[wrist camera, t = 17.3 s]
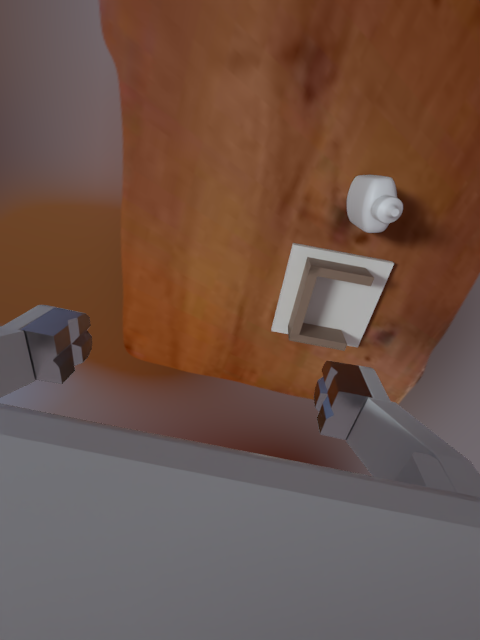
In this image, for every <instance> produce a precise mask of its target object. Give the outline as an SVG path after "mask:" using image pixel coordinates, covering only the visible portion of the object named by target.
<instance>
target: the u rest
mask: <svg viewBox="0 0 480 640" xmlns="http://www.w3.org/2000/svg"><path fill="white" fill-rule="evenodd" d="M393 265H394V263H393V262H392V261H387V260H381V259H376V258H371V257H365V256H360V255H355V254H349V253H344V252H339V251H333V250H328V249H323V248H317V247H312V246H307V245H301V244H296V243H293V245H292V249H291V253H290V257H289V261H288V265H287V269H286V273H285V277H284V281H283V285H282V289H281V293H280V297H279V301H278V305H277V309H276V313H275V316H274V320H273V324H272V331H275V332H280V333H285V334H288V335H289V340H291V341H296V342H301V343H306V344H312V345H317V346H322V347H327V348H333V349H338V350H343V351H345V348H346V346H347V345H348V346H353V347H358V346H359V343H360V341H361V339H362V336H363V334H364V332H365V330H366V327H367V325H368V323H369V320H370V318H371V316H372V314H373V311H374V309H375V307H376V304H377V302H378V300H379V297H380V295H381V293H382V291H383V288H384V286H385V284H386V281H387V279H388V277H389V275H390V272H391V270H392V268H393Z"/></svg>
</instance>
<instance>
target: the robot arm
mask: <svg viewBox="0 0 480 640" xmlns="http://www.w3.org/2000/svg"><path fill="white" fill-rule="evenodd" d="M90 326H91V324H90V317H89V316H88V315H87V314H85V313H81V312H76V311H71V310H66V309H62V308H57V307H52V306H47V305H38V306H36V307H35V308H33V309H31V310H29V311H28V312H26V313H24V314H23V315H21V316H19V317H18V318H16V319H14V320H12V321H11V322H9V323H7V324H6V325H4V326H2V327H1V326H0V398H1V397H3V396H5V395H7V394H9V393H11V392H13V391H15V390H17V389H19V388H21V387H23V386H26V385H28V384H30V383H32V382H34V381H35V380H41V381H47V382H53V383H59V384H63V382H65V381H66V380H67V379H68V378H69V376H70V375H71V374H72V373H73V372H74V371H75V367H74V366H75V365H78V364H80V363H83V362H84V361H85V360H86V359H87V358H88V356H89V354H90V351H91V349H92V336H91V335H90V334H89V332H88V331H87V329H88V328H89V327H90ZM322 373H323V377H322V378H321V379H319V380H318V381H317V384H316V387H315V393H314V404H315V408H316V409H317V410H318V411H319V414H318V416H317V421H318V427H319V432H320V434H321V435H326V436H330V437H335V438H339V439H343V440H346V441H347V443H348V444H349V446H350V447H351V448H352V450H353V451H354V452H355V453H356V455H357V456H358V458H359V459H360V460H361V461H362V463H363V464H364V465H365V467H366V468H367V469H368V471H369V472H370V473H371V474H372V476H369V475H364V474H358V473H354V472H348V471H343V470H338V469H332V468H327V467H322V466H317V465H312V464H307V463H302V462H297V461H292V460H286V459H281V458H276V457H271V456H266V455H261V454H256V453H251V452H246V451H241V450H236V449H230V448H226V447H220V446H216V445H210V444H205V443H200V442H195V441H190V440H185V439H179V438H174V437H169V436H164V435H159V434H154V433H148V432H143V431H138V430H133V429H128V428H123V427H118V426H112V425H107V424H102V423H97V422H92V421H87V420H82V419H77V418H71V417H66V416H61V415H56V414H51V413H46V412H41V411H36V410H31V409H26V408H20V407H15V406H10V405H5V404H0V640H480V474H479V473H478V471H477V470H476V468H475V467H474V465H473V464H472V463H471V461H469V460H468V459H467V458H466V457H464V456H463V455H462V454H460V453H459V452H458V451H457V450H455V449H454V448H453V447H451V446H450V445H449V444H448V443H446V442H445V441H444V440H443V439H441V438H440V437H439V436H437V435H436V434H435V433H434V432H432V431H431V430H430V429H428V428H427V427H426V426H425V425H423V424H422V423H421V422H420V421H418V420H417V419H416V418H414V417H413V416H412V415H411V414H409V413H408V412H407V411H405V410H404V409H403V408H402V407H400V406H399V405H398V404H397V403H395V402H391V401H390V399H389V397H388V396H387V394H386V392H385V390H384V388H383V386H382V384H381V382H380V380H379V378H378V376H377V374H376V372H375V370H374V369H373V368H370V367H364V366H357V365H351V364H345V363H339V362H333V361H326V362H325V364H324V366H323V368H322Z"/></svg>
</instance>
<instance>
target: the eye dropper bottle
mask: <svg viewBox="0 0 480 640" xmlns="http://www.w3.org/2000/svg"><path fill="white" fill-rule="evenodd" d="M402 211H403V204H402V202H401V201H400V200H399V199H398V198H397V191H396V186H395V183H394V180H393V179H392V178H390V177H386V176H378V175H359V176H356V177H355V178H354V180H353V182H352V184H351V186H350V189H349V192H348V196H347V213H348V217H349V220H350V221H351V222H352V223H353V224H354V225H356V226H357V227H359V228H360V229H362V230H363V231H365V232H368V233H379V232H383V231H384V230H385V229H386V228H387V227H388V225H389V223H392V222H394V221H396V220H397V219H398V218H399V217H400V215H401V214H402Z"/></svg>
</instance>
